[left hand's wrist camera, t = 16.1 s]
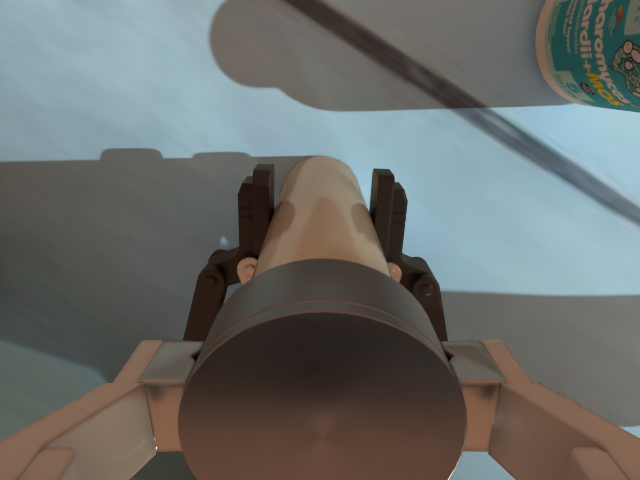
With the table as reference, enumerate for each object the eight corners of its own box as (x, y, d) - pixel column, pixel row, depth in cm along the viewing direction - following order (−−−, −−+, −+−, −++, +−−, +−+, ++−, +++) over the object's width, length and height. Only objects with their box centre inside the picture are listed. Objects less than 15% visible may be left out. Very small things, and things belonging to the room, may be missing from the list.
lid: (472, 398, 11) (510, 480, 9) (282, 477, 12) (273, 569, 10) (373, 214, 9) (390, 256, 7) (161, 323, 10) (117, 391, 8)
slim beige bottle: (324, 244, 27) (331, 525, 10) (267, 197, 26) (165, 422, 9) (375, 190, 26) (481, 405, 9) (317, 138, 25) (310, 270, 8)
